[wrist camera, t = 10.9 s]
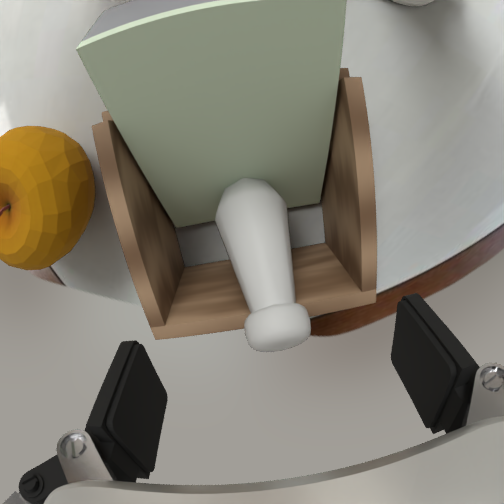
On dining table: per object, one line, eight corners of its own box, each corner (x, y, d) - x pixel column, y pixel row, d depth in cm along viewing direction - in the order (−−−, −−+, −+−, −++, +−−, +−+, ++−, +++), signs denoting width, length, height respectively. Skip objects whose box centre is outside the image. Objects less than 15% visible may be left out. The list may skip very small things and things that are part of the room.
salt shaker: (248, 223, 29) (277, 359, 22) (198, 202, 25) (218, 358, 19) (293, 187, 26) (341, 333, 19) (245, 158, 22) (287, 328, 15)
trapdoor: (103, 11, 14) (76, 49, 11) (309, -28, 13) (346, -2, 11) (175, 176, 32) (176, 227, 29) (303, 153, 32) (319, 202, 29)
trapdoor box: (137, 116, 26) (89, 111, 16) (317, 84, 25) (358, 62, 16) (176, 279, 32) (155, 339, 22) (336, 251, 32) (375, 302, 22)
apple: (63, 260, 31) (10, 311, 20) (6, 175, 26) (-60, 200, 16) (139, 193, 28) (90, 228, 18) (73, 97, 24) (3, 90, 14)
